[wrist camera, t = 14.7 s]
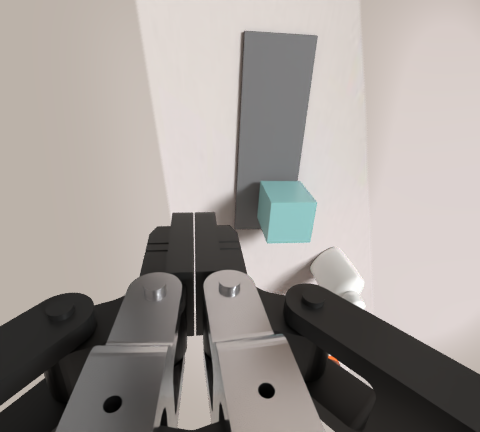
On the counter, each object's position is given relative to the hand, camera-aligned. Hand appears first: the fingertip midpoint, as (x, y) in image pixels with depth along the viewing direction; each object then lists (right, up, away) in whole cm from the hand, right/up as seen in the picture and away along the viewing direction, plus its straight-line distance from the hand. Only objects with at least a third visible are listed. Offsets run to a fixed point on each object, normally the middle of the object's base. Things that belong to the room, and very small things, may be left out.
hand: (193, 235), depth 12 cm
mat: (+5, +10, +29) cm, 31 cm away
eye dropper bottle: (+15, -6, +38) cm, 42 cm away
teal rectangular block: (+7, +3, +31) cm, 32 cm away
